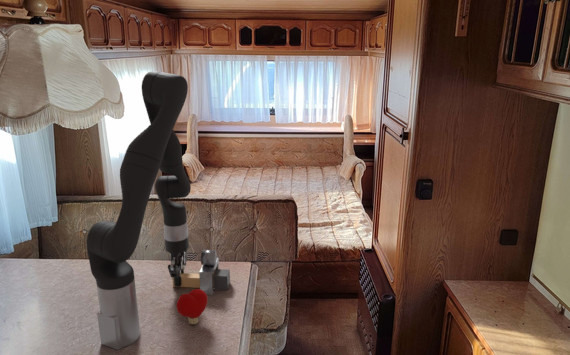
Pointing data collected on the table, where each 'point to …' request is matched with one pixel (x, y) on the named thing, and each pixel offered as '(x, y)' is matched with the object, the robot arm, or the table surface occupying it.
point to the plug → (219, 280)
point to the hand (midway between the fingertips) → (179, 282)
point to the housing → (208, 270)
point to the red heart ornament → (192, 305)
